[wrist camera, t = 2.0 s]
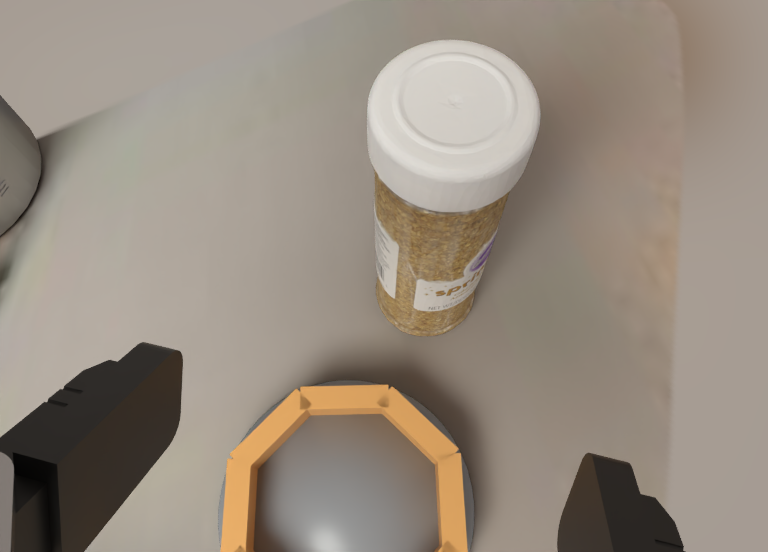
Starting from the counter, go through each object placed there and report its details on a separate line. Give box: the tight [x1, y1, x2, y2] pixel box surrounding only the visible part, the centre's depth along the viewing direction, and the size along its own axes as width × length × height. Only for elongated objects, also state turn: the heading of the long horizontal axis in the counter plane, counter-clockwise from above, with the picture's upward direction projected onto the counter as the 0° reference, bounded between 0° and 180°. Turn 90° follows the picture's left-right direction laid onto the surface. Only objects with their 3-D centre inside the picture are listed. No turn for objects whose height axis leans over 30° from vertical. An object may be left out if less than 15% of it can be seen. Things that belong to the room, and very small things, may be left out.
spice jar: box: [367, 40, 541, 336], centre depth 22 cm, size 5×5×13 cm
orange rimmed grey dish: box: [218, 380, 474, 552], centre depth 23 cm, size 10×10×2 cm
